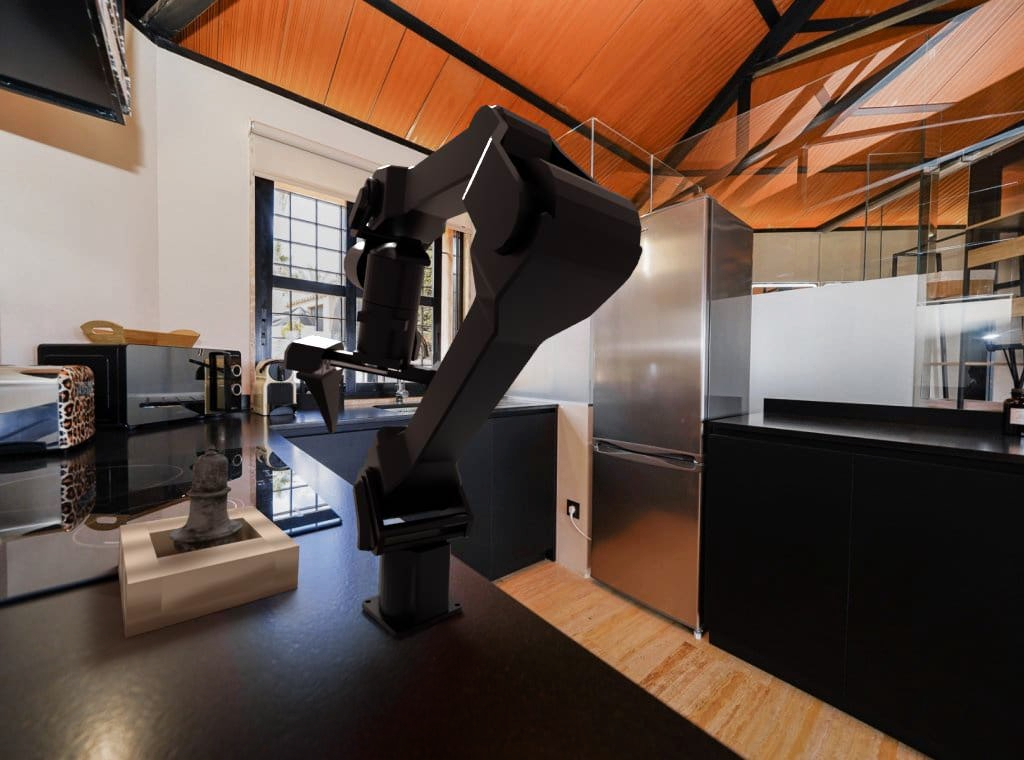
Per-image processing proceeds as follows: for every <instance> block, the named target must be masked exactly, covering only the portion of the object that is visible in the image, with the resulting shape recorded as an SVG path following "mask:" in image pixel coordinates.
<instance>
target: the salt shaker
mask: <svg viewBox="0 0 1024 760" xmlns="http://www.w3.org/2000/svg"><path fill="white" fill-rule="evenodd" d="M215 449H216V447H215V445H214V444H210V445H209V446H208V447H207V450H208V452H205V454H202V455H199V456H198V457H196V458H195V459H194V460H193V463H192V473H191V475H192V476H191V489H189V490H188V491H186V496H189V514H188V515H189V517H188V520H187V523H186V524H185V525H184V526H183V527H180V528H178V529H176V530H174V531H172V532H171V534H170V535H169V536H170V539H172V540H174V542H173V545H174V547H175V549H176V551H177V553H178V554H181V553H186V552H191V551H196V550H201V549H206V548H211V547H216V546H221V545H226V544H231V543H235V542H236V540H237V538H238V535H239V530H241V529H242V527H243V524H242V523H241V522H238V521H234V520H231V519H229V516H228V512H227V509H228V498H229V497H228V496H229V495H228V494H229V492H231V491H232V488H231V487H230V486H228V479H229V478H228V476H229V475H228V473H229V459H228V458H227V456H225V455H223V454H220V453H218V452H216V451H215Z"/></svg>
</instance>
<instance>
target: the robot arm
mask: <svg viewBox="0 0 1024 760" xmlns="http://www.w3.org/2000/svg"><path fill="white" fill-rule="evenodd" d="M472 116H473V117H472V118H471V119H470V122H469V125H468V126H467V128H466V129H464V130H463V131H461V132H460V133H459V134H457V135H456V136H455V137H453V138H451V139H450V140H449V141H448V142H446V143H444V144H443V145H442V146H440V147H439V148H438V149H436V150H435V151H433V152H432V153H431V154H428V156H426V157H425V158H424V159H422V160H421V161H419V162H418V163H417V164H416V165H413V166H402V165H393V164H388V165H385V166H381V167H379V168H378V169H376V170H375V171H374V172H373V174H372V176H371V177H369V176H368V177H367V178H366V179H365V181H364V185H363V186H362V187H361V188H360V189H359V190H358V194H357V196H356V199H355V202H354V204H353V206H352V209H351V213H350V215H349V217H348V226H349V227H348V229H350V232H349V235H350V237H352V238H353V237H354V238H356V239H357V238H358V239H361V240H363V241H361V242H358V243H355V245H353V246H351V247H350V248H349V249H348V251H346V252H347V253H346V255H345V256H344V259H343V270H344V272H345V276H346V278H347V279H348V281H350V282H351V284H353V285H354V286H355V287H357V288H359V289H361V290H362V291H363V294H362V301H361V302H362V303H361V310H358V311H357V313H356V314H357V315H356V322H358V323H359V327H358V336H357V344H356V349H355V350H352V352H351V351H347V350H345V346H344V344H343V341H341V340H336V339H331V338H326V337H323V336H322V337H321V336H318V335H316V336H315V335H310V336H306V337H303V338H300V339H297V340H294V341H291V342H290V343H289V344H288V345H287V346H286V348H285V350H284V352H283V353H284V354H283V368H284V369H285V370H289V371H293V372H296V373H295V379H297V380H300V381H303V382H304V384H305V386H306V387H307V389H308V392H309V393H310V394H311V397H312V398H313V400H314V402H315V404H316V405H317V409H318V410H319V412H320V414H321V418H322V421H323V422H324V425H325V427H326V430H327V432H328V434H334V433H336V431H337V427H338V421H339V411H340V410H339V409H340V408H339V407H340V406H339V405H340V403H339V402H340V384H341V380H342V377H343V373H344V370H349V371H353V372H359V373H365V374H370V375H375V376H379V377H385V378H390V379H395V380H401V381H404V382H409V383H414V384H418V385H419V384H420V385H424V386H425V390H426V391H425V393H424V395H423V396H422V397H421V400H420V402H419V404H418V405H417V407H416V409H415V411H414V413H413V416H412V417H411V419H410V421H409V423H408V425H384V426H382V427H381V428H380V429H378V430H377V431H376V433H375V436H374V440H373V442H372V445H371V446H370V448H369V449H367V451H366V452H367V453H366V454H367V456H368V457H367V458H366V460H365V461H364V465H363V467H361V468H359V470H358V472H357V476H356V480H355V483H354V484H353V486H352V496H353V503H354V509H355V510H354V511H355V516H356V518H355V519H356V530H357V539H356V541H357V549H358V550H359V551H361V552H362V551H363V552H371V554H372V555H373V556H374V557H379V569H378V572H379V573H378V595H375V596H372V597H368V598H366V599H363V600H362V601H361V608H362V609H363V611H365V612H366V613H367V614H368V615H369V616H370V617H372V618H373V619H374V620H375V621H376V622H377V623H378V624H380V625H381V626H382V628H384V629H385V630H386V631H387V632H388V633H389V634H390V635H392V636H393V637H395V638H396V639H402V638H404V637H407V636H409V635H412V634H414V633H416V632H419V631H420V630H423V629H426V628H428V627H429V626H432V625H434V624H437V623H439V622H441V621H443V620H445V619H448V618H450V617H452V616H455V615H457V614H458V613H461V612H463V610H464V603H463V602H462V601H460V600H458V599H457V598H456V597H453V596H452V595H450V584H451V583H450V581H451V556H452V555H451V552H452V548H451V547H452V543H451V542H450V540H451V541H452V540H455V539H456V540H457V539H460V538H463V539H466V538H469V537H470V536H471V533H472V528H473V523H474V520H475V519H474V514H473V511H472V509H471V506H470V503H469V501H468V499H467V496H466V492H465V491H464V487H463V485H462V484H463V480H462V476H461V472H460V470H459V466H458V462H459V459H460V458H461V457H462V455H463V454H464V453H465V451H466V450H467V449H468V447H469V445H470V444H471V443H472V442H473V440H474V438H475V437H476V436H477V434H478V433H479V431H480V430H481V429H482V427H484V425H485V423H486V422H487V420H489V418H490V416H491V415H492V413H493V412H494V411H495V409H496V408H497V406H498V405H499V404H500V402H501V400H502V399H503V398H504V396H505V395H506V394H507V392H508V391H509V390H510V388H511V387H512V385H513V384H514V383H515V381H516V379H517V378H518V377H519V375H520V374H521V372H522V371H523V369H524V368H525V367H526V366H527V364H528V362H529V361H530V359H532V357H533V356H534V354H535V353H536V352H537V350H538V348H540V346H541V345H542V344H543V343H544V342H546V341H547V340H549V339H550V338H552V337H554V336H556V335H559V334H561V333H562V332H564V331H565V330H567V329H569V328H571V327H573V326H575V325H577V324H579V323H581V322H582V321H585V320H587V319H589V318H590V317H591V316H593V314H594V313H595V312H597V311H598V310H599V309H600V308H601V307H602V306H604V304H605V303H606V302H607V301H608V300H609V299H610V298H611V297H612V296H613V295H614V294H615V293H617V291H619V289H620V288H622V286H624V284H625V283H626V282H628V280H629V279H630V278H631V276H632V275H633V273H634V272H635V269H636V268H637V267H638V265H639V262H640V260H641V257H642V254H643V250H644V249H643V246H642V245H641V238H642V223H641V218H640V213H639V211H638V209H637V208H636V206H635V205H634V203H633V201H632V200H630V199H628V198H627V197H625V196H623V195H621V194H620V193H617V192H615V191H613V190H611V189H608V188H607V187H604V186H603V185H601V183H599V181H598V180H596V179H595V178H594V177H593V176H592V175H590V174H589V172H587V171H586V170H585V169H583V168H582V166H580V165H579V164H578V163H577V162H576V161H574V160H573V159H572V158H571V157H570V156H569V155H568V154H566V152H565V151H564V150H563V148H562V147H561V146H560V143H558V142H557V141H556V139H555V138H554V137H552V136H551V134H550V132H549V130H548V129H546V128H544V127H542V126H540V125H539V124H537V123H534V122H533V121H530V120H529V119H527V118H524V117H523V116H520V115H519V114H516V113H514V112H513V111H511V110H509V109H507V108H505V107H503V106H501V105H498V104H496V105H493V106H491V105H489V104H485V105H481V106H480V107H479V108H478V110H476V111H475V113H474V114H473V115H472ZM466 213H467V214H468V216H469V219H470V220H471V222H472V225H473V228H474V230H475V233H474V236H473V238H472V242H471V244H470V247H469V256H470V261H471V263H470V264H471V270H472V275H473V283H474V289H475V296H474V299H473V302H472V303H471V306H470V307H469V309H468V311H467V314H466V315H465V317H464V319H463V321H462V323H461V325H460V326H459V328H458V330H457V332H456V334H455V335H454V337H453V339H452V342H451V343H450V346H449V347H448V349H447V351H446V353H445V355H444V356H443V359H442V360H441V361H440V360H437V361H436V362H435V363H434V364H433V366H432V367H426V366H421V365H417V364H411V362H415V361H418V359H419V355H420V350H421V346H422V341H423V335H422V333H421V332H420V331H419V330H418V323H419V320H418V319H419V309H420V302H421V297H422V292H423V291H422V290H423V283H424V277H425V276H424V275H425V270H426V267H427V268H429V267H430V266H431V264H432V261H431V258H430V255H429V253H428V252H427V251H428V250H429V249H430V247H431V246H432V245H433V244H434V242H435V241H436V240H437V239H439V238H440V237H441V236H443V235H444V234H445V233H446V230H447V229H446V228H447V221H448V220H450V219H454V218H455V217H458V216H460V215H463V214H466ZM438 512H439V513H440V515H438V516H430V517H426V518H420V519H419V518H418V519H414V520H413V519H412V520H407V521H401V522H394V523H389V524H385V521H387V520H394V519H399V518H407V517H413V516H418V515H426V514H432V513H433V514H434V513H438Z"/></svg>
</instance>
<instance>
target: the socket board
mask: <svg viewBox="0 0 1024 760" xmlns="http://www.w3.org/2000/svg"><path fill="white" fill-rule="evenodd" d="M227 512H228V516H229V519H231V520H234V521H238V522H241V523H242V524H243V527H242V529H241V530H239V535H238V538H237V540H236V542H235V543H231V544H226V545H221V546H216V547H211V548H206V549H201V550H196V551H191V552H186V553H181V554H178V553H177V551H176V549H175V547H174V545H173V542H174V540H172V539H170V536H169V535H170V534H171V532H172V531H174V530H176V529H178V528H180V527H183V526H184V525H185V524H186V523H187V520H188V517H189V514H188V515H181V516H175V517H169V518H161V519H156V520H148V521H142V522H135V523H129V524H122V525H119V533H118V534H119V535H118V555H117V556H118V557H117V569H118V579H119V590H120V591H119V592H120V598H121V599H120V600H121V601H120V602H121V607H122V608H121V611H122V621H123V628H124V630H123V631H124V639H128V638H131V637H135V636H137V635H143V634H145V633H148V632H152V631H155V630H159V629H162V628H166V627H168V626H172V625H175V624H176V625H177V624H179V623H182V622H186V621H190V620H193V619H196V618H201V617H202V616H206V615H210V614H213V613H217V612H220V611H223V610H227V609H230V608H234V607H237V606H241V605H244V604H248V603H251V602H255V601H259V600H261V599H264V598H268V597H272V596H275V595H279V594H282V593H285V592H290V591H291V590H296V589H298V588H299V568H300V567H299V565H300V545H299V544H298V543H297V542H296V541H295V540H294V539H293V538H292V537H291V536H289V535H288V534H287V533H286V532H284V531H283V530H282V529H281V528H280V527H278V526H277V525H276V524H275V523H274V522H272V521H271V519H269V518H268V517H267V516H265V515H264V514H263V513H262V512H261V511H260V510H258V509H257V508H256V507H255V506H254V505H247V506H241V507H235V508H234V507H233V508H227Z"/></svg>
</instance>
